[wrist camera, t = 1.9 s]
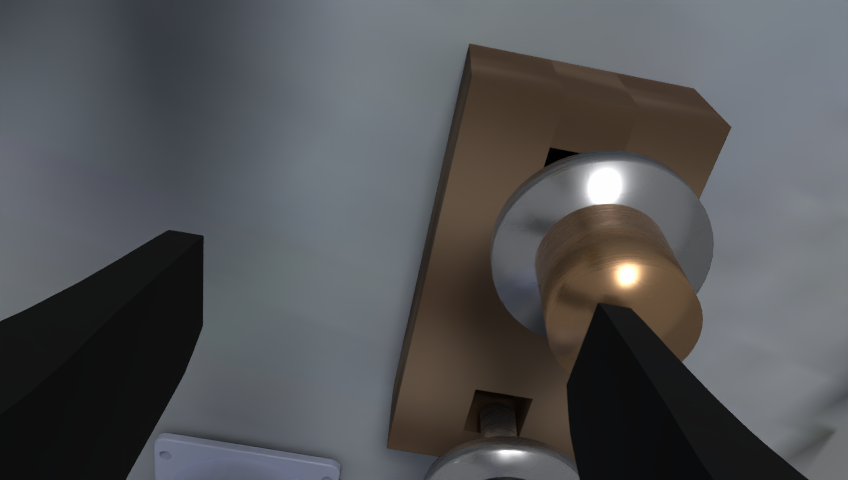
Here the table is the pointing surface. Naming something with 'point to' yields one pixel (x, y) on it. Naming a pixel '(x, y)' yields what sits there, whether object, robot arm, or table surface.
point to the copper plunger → (603, 249)
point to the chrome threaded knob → (502, 454)
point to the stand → (473, 225)
